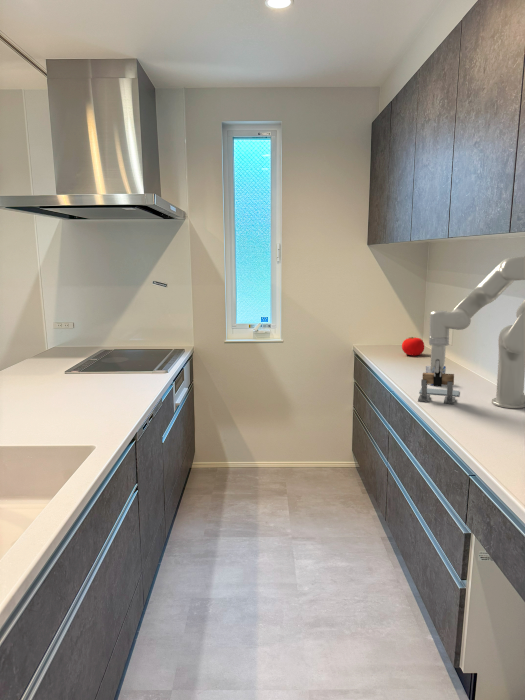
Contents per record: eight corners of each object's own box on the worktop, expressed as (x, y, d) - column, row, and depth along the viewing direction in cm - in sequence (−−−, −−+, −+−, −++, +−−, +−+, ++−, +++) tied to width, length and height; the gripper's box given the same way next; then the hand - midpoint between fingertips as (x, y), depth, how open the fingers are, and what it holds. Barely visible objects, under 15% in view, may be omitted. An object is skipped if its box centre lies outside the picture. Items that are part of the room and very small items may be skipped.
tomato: (426, 356, 290) (427, 338, 288) (403, 357, 291) (404, 338, 289) (421, 353, 302) (421, 335, 300) (399, 353, 303) (399, 335, 301)
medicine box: (430, 385, 223) (431, 367, 221) (425, 383, 227) (425, 365, 226) (445, 384, 225) (446, 366, 223) (439, 382, 229) (440, 364, 228)
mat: (459, 391, 211) (459, 390, 211) (458, 396, 204) (458, 395, 203) (421, 388, 217) (421, 387, 217) (419, 393, 210) (419, 392, 210)
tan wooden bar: (453, 383, 196) (454, 374, 196) (453, 385, 194) (453, 375, 193) (423, 381, 201) (423, 372, 201) (422, 383, 199) (422, 374, 198)
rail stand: (455, 399, 199) (456, 378, 198) (454, 404, 192) (455, 382, 191) (420, 396, 205) (420, 376, 204) (418, 401, 198) (418, 380, 196)
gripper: (431, 338, 203) (430, 380, 206) (427, 344, 189) (426, 389, 192) (450, 338, 200) (448, 381, 203) (447, 344, 186) (446, 390, 189)
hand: (437, 384), depth 197 cm, fingers closed on tan wooden bar, 3 cm apart
